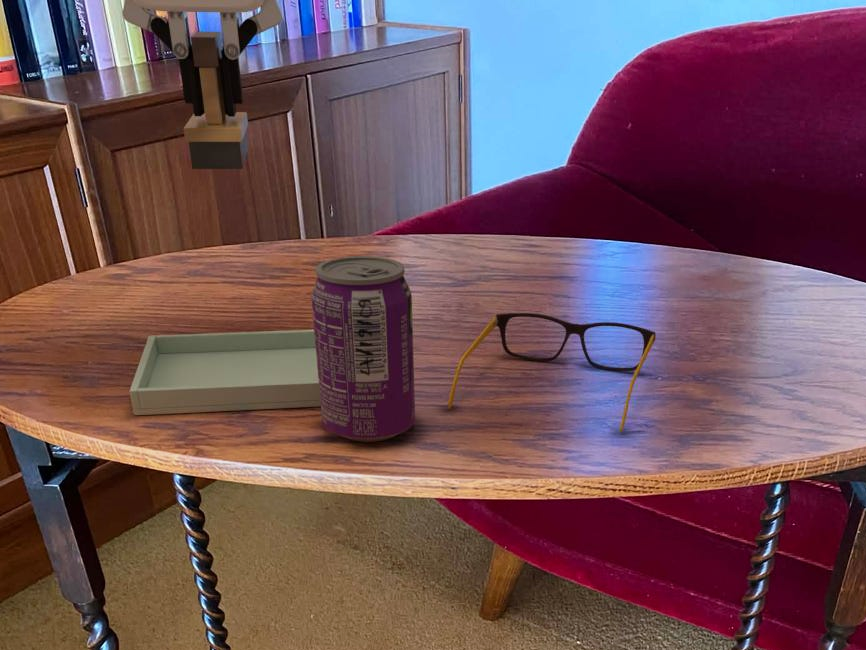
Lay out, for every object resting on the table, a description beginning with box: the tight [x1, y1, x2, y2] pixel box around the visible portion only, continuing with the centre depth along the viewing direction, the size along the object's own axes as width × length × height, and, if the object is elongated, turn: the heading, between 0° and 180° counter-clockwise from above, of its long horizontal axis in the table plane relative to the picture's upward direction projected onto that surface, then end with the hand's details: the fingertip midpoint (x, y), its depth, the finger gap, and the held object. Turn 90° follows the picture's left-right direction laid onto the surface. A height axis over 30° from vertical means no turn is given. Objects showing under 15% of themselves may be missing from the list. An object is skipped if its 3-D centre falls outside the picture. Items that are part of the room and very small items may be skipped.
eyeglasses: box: [447, 312, 657, 433], centre depth 80 cm, size 14×14×4 cm
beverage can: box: [311, 255, 416, 443], centre depth 70 cm, size 7×7×12 cm
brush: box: [183, 30, 249, 170], centre depth 79 cm, size 4×9×9 cm, turn 8°
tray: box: [128, 329, 321, 416], centre depth 81 cm, size 18×13×2 cm
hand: (215, 112), depth 79 cm, fingers closed on brush, 2 cm apart
